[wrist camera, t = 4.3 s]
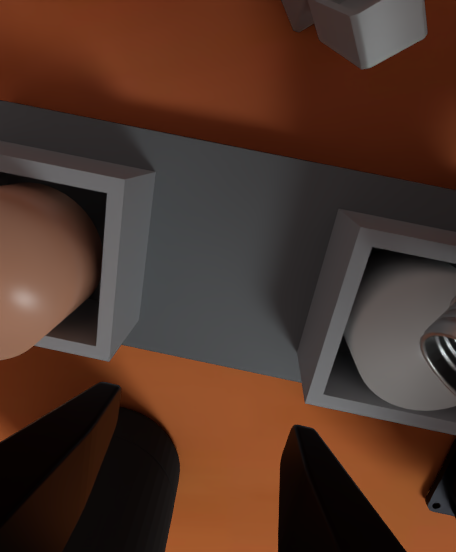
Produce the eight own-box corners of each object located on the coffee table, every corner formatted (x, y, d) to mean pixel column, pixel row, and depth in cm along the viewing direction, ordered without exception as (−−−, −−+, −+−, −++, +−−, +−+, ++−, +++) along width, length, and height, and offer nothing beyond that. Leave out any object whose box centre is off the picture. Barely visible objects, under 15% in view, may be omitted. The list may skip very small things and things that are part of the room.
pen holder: (32, 399, 24) (-119, 566, 14) (174, 393, 23) (112, 569, 13) (69, 507, 27) (-35, 703, 17) (197, 507, 26) (158, 716, 16)
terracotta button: (99, 323, 16) (51, 375, 13) (-23, 297, 17) (-106, 342, 13) (108, 197, 15) (54, 216, 11) (-30, 169, 15) (-130, 178, 11)
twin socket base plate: (422, 392, 21) (474, 473, 16) (13, 306, 22) (-66, 357, 16) (507, 200, 17) (612, 224, 12) (9, 101, 18) (-94, 84, 13)
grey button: (433, 366, 18) (476, 423, 15) (322, 343, 19) (337, 394, 15) (479, 261, 17) (544, 295, 13) (355, 236, 17) (382, 262, 13)
